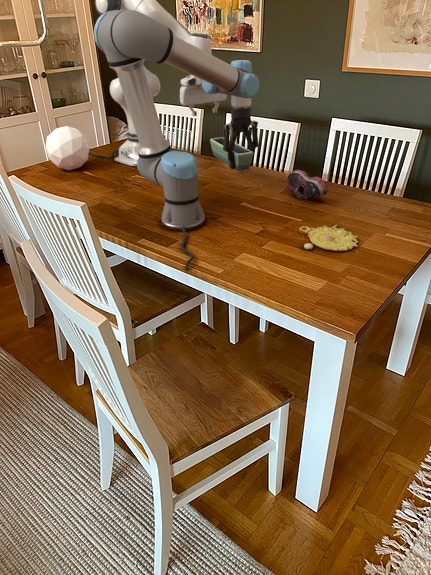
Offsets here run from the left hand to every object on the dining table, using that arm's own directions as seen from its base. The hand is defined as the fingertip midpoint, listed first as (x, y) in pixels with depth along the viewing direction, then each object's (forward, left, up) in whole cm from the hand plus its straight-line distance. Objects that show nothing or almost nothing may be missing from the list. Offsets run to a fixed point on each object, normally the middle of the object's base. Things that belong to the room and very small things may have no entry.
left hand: (204, 114), depth 188 cm
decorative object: (+72, -37, -25) cm, 85 cm away
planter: (+16, -5, -17) cm, 24 cm away
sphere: (-61, -26, -25) cm, 71 cm away
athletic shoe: (+49, -6, -25) cm, 55 cm away
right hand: (+24, -10, -16) cm, 31 cm away
